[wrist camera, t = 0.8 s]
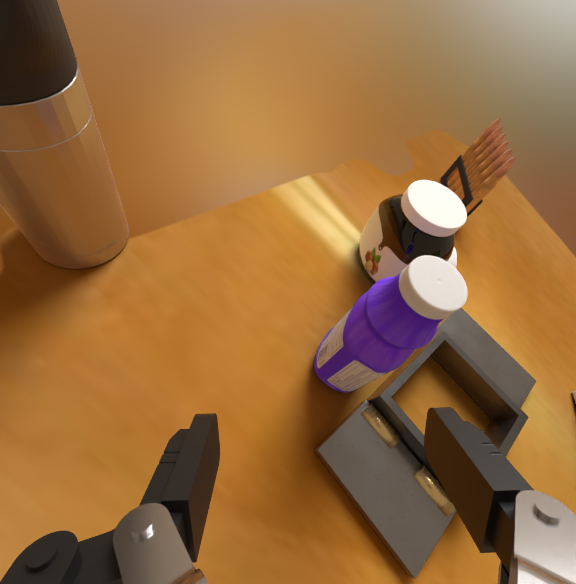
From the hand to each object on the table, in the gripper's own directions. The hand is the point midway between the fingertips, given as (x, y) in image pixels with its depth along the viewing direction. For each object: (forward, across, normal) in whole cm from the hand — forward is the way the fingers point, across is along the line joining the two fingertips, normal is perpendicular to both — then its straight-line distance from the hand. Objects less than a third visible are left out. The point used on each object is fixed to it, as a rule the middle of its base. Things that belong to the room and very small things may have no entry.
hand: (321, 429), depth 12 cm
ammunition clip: (+45, -27, -8) cm, 53 cm away
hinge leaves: (+19, -15, +14) cm, 27 cm away
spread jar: (+32, -14, +1) cm, 35 cm away
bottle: (+21, -5, +9) cm, 23 cm away
